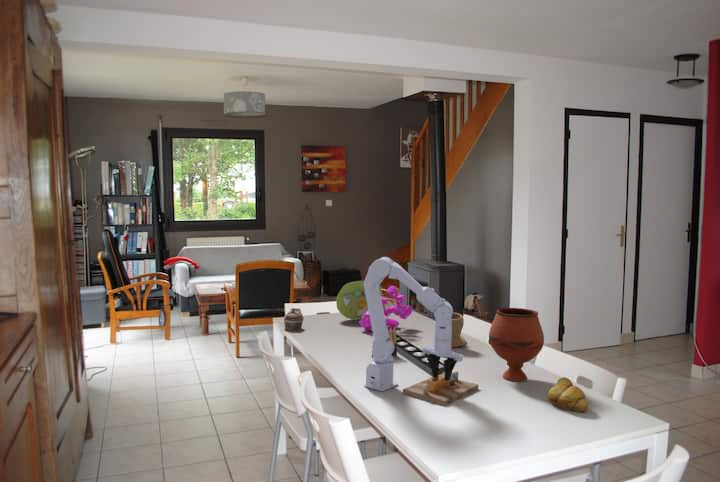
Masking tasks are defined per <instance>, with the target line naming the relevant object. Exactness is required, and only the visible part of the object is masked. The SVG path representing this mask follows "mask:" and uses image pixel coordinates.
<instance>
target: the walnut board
mask: <svg viewBox="0 0 720 482" xmlns="http://www.w3.org/2000/svg"><path fill="white" fill-rule="evenodd" d="M453 373H455V385H453V386H448V387H446V388H444V389H442V390H440V391H437V392H435V393H434V392H431V391H428V389H429V385H428V384H427V380H429V379H431V378H434V377H433V376H432V377H429V378H427V379H425V380H422V381H420V382H417V383H414V384H413V385H410V386H408V387H405V388H403V389H402V394H403V395H406V396H410V397H413V398H415V399H421V400H422V401H423V400H424V401H427V402H430V403H433V404H437V405H441V406H444V407H445V406H448V405H449V404H451V403H453V402H455V401H457V400H460V399H461V398H463V397H465V396H467V395H468V394H471V393H473V392H474V391H477V390H479V384H478V383H475V382H469V381H466V380H461V379H459V371H456V370H454V371H453Z"/></svg>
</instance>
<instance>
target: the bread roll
mask: <svg viewBox="0 0 720 482" xmlns="http://www.w3.org/2000/svg"><path fill="white" fill-rule="evenodd" d="M547 399H548V401H549V402H550V403H551V404H552V405H556V406H557V407H559V408H561V409H563V410H571V411H575V412H586V411H587V410H588V409H589V402H588V400H587V399H586V395H585V393H584V391H583V390H582V389H581V388H580V387H579V386H576V385H574V384H573V383H572V381H571V380H570V379H569V378H568V377H560V378H558V380H557V382H556V384H555V385H554V386H553V387H551V388H550V389H549V391H548V394H547Z"/></svg>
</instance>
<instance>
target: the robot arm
mask: <svg viewBox="0 0 720 482" xmlns="http://www.w3.org/2000/svg"><path fill="white" fill-rule="evenodd" d="M366 273H367V274H366V275H365V278H364V280H365V281H364V289H365V294H366V299H367V305H368V310H369V315H370V320H371V325H372V330H371V331H372V335H373V336H372V348H373V349H371V357H372V356H373V357H372V361H371V363H369V364H368V365H367V366H366V368H365V369H366V372H365V374H366V375H365V384H363V387H365V388H369V389H373V390H376V391H379V392H385V391H387V390H389V389H391V388H394V387H397V386H398V385H399V383H398V382H394V365H395V364H394V363H395V361H394V359H395V358H394V356H392V355H391V354H392V353H393V352H394V349H395V346H394V343H393V341H392V340H391V338H390V334H389V330H388V331H387V328H388V326H387V323H386V318H385V317H386V316H385V315H384V311H383V306H382V300H381V295H380V290H379V285H380V286H381V283H382V282H383V281H384V279H385V278H387V277H388V279H393V280H398V281H400V282H401V283H402V284H403V285H404V286H406V287H407V288H408V289H409V290H411V291H412V292H413V293H414V294H416V300H417V302H419V303H420V304H422V305H423V306H424V307H425V308H426V310H428V311H429V312H431V313H433V315H434V316H433V317H434V318H435V321H434V322H435V324H434V333H433V334H434V335H433V338H434V339H433V347H429V346H424V347H423V348H422V354H423V355H428V356H427V357H426V360H427V361H428V364H429V365H430V369H431V372H432V377H436V376H438V375H440V374H439V371H440V370H439V369H440V368H439V366H440V361H441V358H444V360H442V361H443V366H444V372H445V381H448V380H450V377H451V373H452V372H453V370H454V369H455V366H456V364H457V362H459V363H461V362H463V360H464V355H463V354H460V353H457V352H454V351H453V350H452V347H451V339H452V325H451V324H452V320H451V317H452V313H454V309H453V306H452V305H451V304H450V303H451V302H449V301H446V299H445V298H444V297H443V298H442V297H441V296H439V295H438V294H437V292H435V289H434V288H433V287H431V288H430V287H429V286H422V285H421V284H420V283H419V282H418V281H417V280H416V279H415V278H414V277H413V276H412V275H411V274H410V273H408V272H407V270H405V269H404V268H403V267H402V266H401V265H400V264H399V263H397V262H395V261H394V260H393V259H392V257H391V258H390V257H389V256H382V257H380V258H378V259H375V260H374V261H373V262H372V263H371V264H370V266H369V267H368V271H367V272H366Z"/></svg>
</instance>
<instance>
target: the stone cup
mask: <svg viewBox="0 0 720 482" xmlns="http://www.w3.org/2000/svg"><path fill="white" fill-rule="evenodd" d="M451 320H452V324H451V325H452V339H451V348H455V347H456V348H457V347H461V346H467V345H468V342H467V340H466V338H465V337H464V336H462V335H461V333H462V330H463V328H464V323H465V322H464V321H465V320H464V317H463V315H462V314H460V313H458V312H453V313H452V317H451Z"/></svg>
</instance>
